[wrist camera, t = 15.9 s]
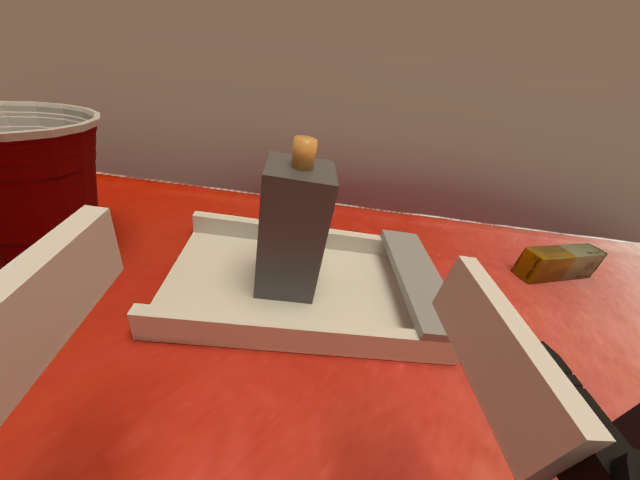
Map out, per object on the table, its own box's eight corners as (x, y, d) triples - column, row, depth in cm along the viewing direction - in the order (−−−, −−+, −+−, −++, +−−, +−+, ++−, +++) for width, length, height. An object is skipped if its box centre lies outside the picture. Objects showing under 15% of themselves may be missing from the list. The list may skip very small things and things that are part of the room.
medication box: (570, 265, 41) (588, 242, 39) (590, 278, 39) (610, 254, 37) (508, 271, 37) (525, 245, 35) (526, 286, 35) (545, 259, 33)
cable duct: (133, 340, 20) (124, 305, 18) (196, 231, 32) (195, 203, 30) (455, 365, 23) (475, 338, 22) (406, 257, 35) (416, 234, 33)
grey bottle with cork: (253, 298, 25) (264, 143, 18) (261, 261, 29) (272, 123, 22) (312, 304, 25) (345, 156, 18) (311, 267, 29) (339, 135, 22)
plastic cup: (82, 210, 32) (44, 86, 25) (156, 249, 29) (135, 119, 22) (-67, 259, 23) (-184, 91, 16) (16, 322, 20) (-87, 146, 13)
